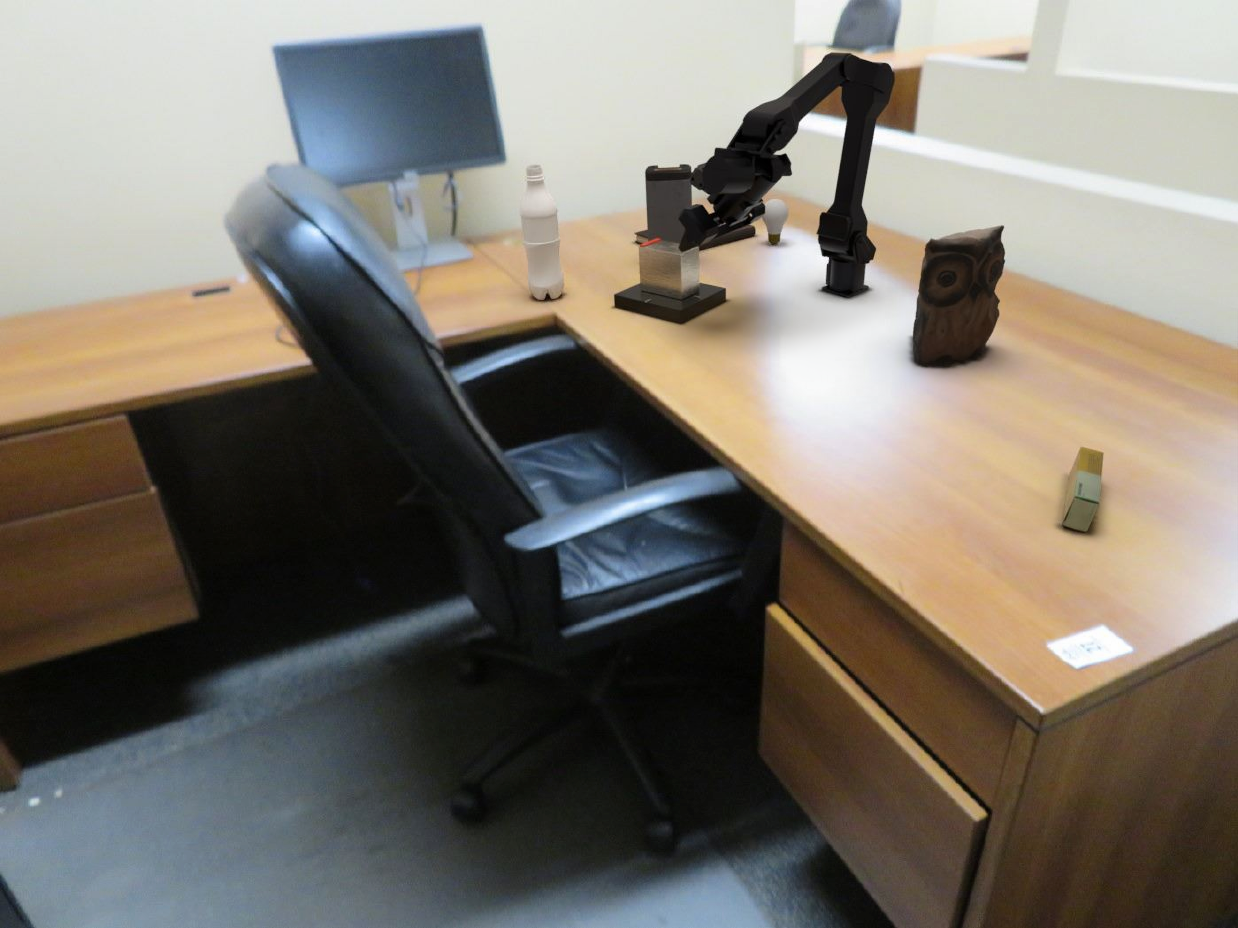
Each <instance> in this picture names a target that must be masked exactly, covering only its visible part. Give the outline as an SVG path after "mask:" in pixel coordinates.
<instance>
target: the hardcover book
mask: <svg viewBox="0 0 1238 928" xmlns="http://www.w3.org/2000/svg"><path fill="white" fill-rule="evenodd" d="M756 230H757V229H756V226H755V225H753V224H749V225H747V226H745V227H742V228H740V229H737V230H735V231H732V232H730V233H727V234H725V235H722V236H720V237H717V238H715V239H711V241H710V242H708V243H705V244H703V245H700V246H698V247H699V251H701V250H706V249H708V248H713V247H717V246H721V245H724V244H728V243H733V242H735V241H739V240H743V239H746V238H751V237H754V236H755V235H756V232H757V231H756ZM634 235H635V239H636V240H634V243H635V244H639V245H641V244H643V243H646V242H648V229H643V230H639V231H635V232H634Z"/></svg>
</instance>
